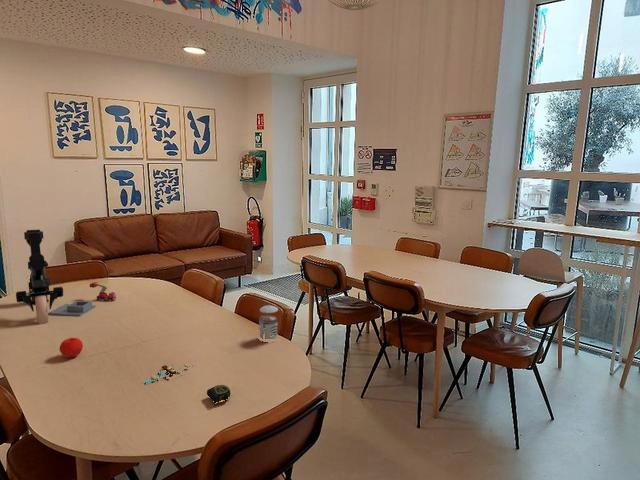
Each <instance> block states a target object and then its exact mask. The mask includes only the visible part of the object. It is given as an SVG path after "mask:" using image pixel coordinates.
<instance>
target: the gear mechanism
mask: <svg viewBox="0 0 640 480" xmlns="http://www.w3.org/2000/svg"><path fill="white" fill-rule="evenodd" d="M171 365H172V366H170V367H169V366H167V365H162V366H161V369H162V370H159V371H158V372H160V371H163V370H166V371H167V372H169V373H170V374H172V375H173V374H175V375H177V373H176V371H175V370H174V365H175V364H174V362H172V364H171ZM182 365H184V366H185V367H187V368H188V367H190V366H191V365H190V363H183V364H182ZM171 367H173V368H171ZM160 374H162V375H158V376H156V375H155V374H153V375H151V376H150V379H148V380H145V381H144V384H145V383H148V382H150V381H152V380H155V381H156V380H158V378H160V377H159V376H163V375H164V376H165V377H169V376H167V375H166V374H167V373H165V374H164V373H162V372H160ZM158 381H159V380H158ZM148 384H149V383H148Z"/></svg>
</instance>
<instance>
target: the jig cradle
mask: <svg viewBox="0 0 640 480" xmlns="http://www.w3.org/2000/svg"><path fill="white" fill-rule="evenodd" d="M95 308H96V304H93V301H90V300H89V301H88V300H85V301H84V300H76V301H73V302H72V303H64V304H63V305H60V306H59V307H57V308H55V309H53V310H51V311H50V312H48V316H63V317H64V316H65V317H82V316H83V315H85V314H86V313H88V312H90V311H92V310H93V309H95Z"/></svg>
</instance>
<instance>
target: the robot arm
mask: <svg viewBox="0 0 640 480" xmlns="http://www.w3.org/2000/svg"><path fill="white" fill-rule="evenodd" d="M23 236H24V240H25V241H26V244H27V245H28V246H29V247H30V248H29V249H30V255H29V257H28V261H27V269H28V270H30V278H29V282H27V283H28V292H27V291H26V290H22V291H21V290H20V291H17V292H15V298H16V303H23V304H27V305H28V307H29V308H30V309H31V311H32V312H34V311H35V310H34V305H36V303H35V297H37V296H46V300H47V303H48V302H49V306H48V307H49V310H52V306H53V304H54V301H55V300H57V299H58V298H62V297H64V287H62V286H56V287H52V290H50V286H51V278H50V277H46V269H47V268H48V267H49V262H47V260H45V256H44V255H43V254H42V253H41V251H42V250H41V243H42V242H43V239H44V231H41V229H27V230H26V231H24V232H23ZM48 296H49V299H48Z"/></svg>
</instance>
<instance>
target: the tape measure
mask: <svg viewBox="0 0 640 480" xmlns="http://www.w3.org/2000/svg"><path fill="white" fill-rule="evenodd" d="M207 395H208V396H209V397H210V398H211V399H212V400H211V399H210V398H209V397H208V396H207ZM206 396H207V397H208V398H209V399H210V400H211V401H212V402H213V401H214V402H213V404H214V403H216V402H219V401H221V400H226V399H228V397H229V398H230V397H231V390H230V388H229V386H227V385H225V384H220V385H219V384H218V385H214V386H212V387H211V388H209V389H207V390H206ZM228 400H229V399H228Z"/></svg>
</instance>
